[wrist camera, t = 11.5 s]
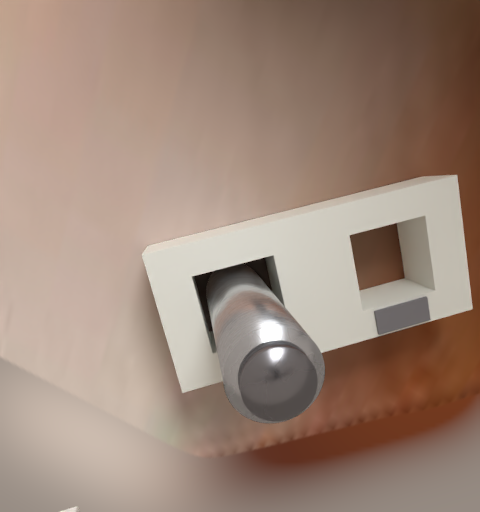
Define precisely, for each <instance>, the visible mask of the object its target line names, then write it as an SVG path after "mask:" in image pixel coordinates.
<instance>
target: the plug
mask: <svg viewBox="0 0 480 512" xmlns="http://www.w3.org/2000/svg"><path fill="white" fill-rule="evenodd" d="M206 297H207V302H208V307H209V313H210V318H211V323H212V328H213V333H214V338H215V343H216V348H217V353H218V358H219V364H220V369H221V374H222V379H223V384H224V389H225V393H226V395H227V398H228V400H229V402H230V403H231V404H232V406H233V407H234V408H235V409H236V410H237V411H238V412H239V413H240V414H242V415H243V416H245V417H246V418H248V419H251V420H253V421H257V422H261V423H279V422H283V421H287V420H289V419H292V418H294V417H296V416H298V415H299V414H301V413H302V412H304V411H305V410H306V409H307V408H309V406H310V405H311V404H312V403H313V402H314V401H315V399H316V398H317V396H318V394H319V393H320V391H321V388H322V385H323V382H324V376H325V365H324V360H323V356H322V354H321V351H320V349H319V348H318V346H317V345H316V343H315V342H314V341H313V340H312V339H311V338H310V336H309V335H308V334H307V333H306V332H305V330H304V329H303V328H302V327H301V326H300V324H299V323H298V322H297V321H296V320H295V318H294V317H293V316H292V315H291V314H290V312H289V311H288V310H287V309H286V308H285V307H284V305H283V304H282V303H281V302H280V301H279V299H278V298H277V297H276V296H275V295H274V293H273V292H272V291H271V290H270V289H269V287H268V286H267V285H266V284H265V283H264V282H263V280H262V279H261V278H260V277H259V276H258V274H257V273H256V272H255V271H254V270H253V269H252V268H250V267H249V266H247V265H245V264H238V265H234V266H230V267H227V268H223V269H219V270H215V271H214V272H213V273H212V274H211V276H210V277H209V279H208V282H207V285H206Z"/></svg>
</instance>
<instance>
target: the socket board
mask: <svg viewBox="0 0 480 512" xmlns="http://www.w3.org/2000/svg"><path fill="white" fill-rule="evenodd" d="M394 223H397V229H398V236H399V242H400V249H401V255H402V262H403V269H404V275H405V278H403V279H400V280H396V281H393V282H389V283H385V284H382V285H378V286H374V287H371V288H367V289H364V290H360V291H359V286H358V280H357V275H356V269H355V264H354V258H353V252H352V247H351V241H350V236H349V235H352V234H356V233H360V232H364V231H368V230H372V229H375V228H379V227H383V226H387V225H391V224H394ZM142 258H143V261H144V264H145V268H146V271H147V275H148V278H149V281H150V285H151V288H152V292H153V295H154V298H155V302H156V305H157V309H158V312H159V315H160V319H161V322H162V325H163V329H164V332H165V336H166V339H167V342H168V346H169V349H170V353H171V356H172V359H173V363H174V366H175V370H176V373H177V376H178V380H179V383H180V387H181V390H182V393H185V392H188V391H191V390H195V389H198V388H202V387H205V386H209V385H212V384H216V383H219V382H223V379H222V374H221V369H220V364H219V358H218V353H217V348H216V343H215V338H214V333H213V331H212V332H209V329H208V326H207V322H206V318H205V315H204V311H203V307H202V303H201V300H200V296H199V292H198V289H197V285H196V281H195V277H194V276H196V275H200V274H204V273H208V272H211V271H215V270H219V269H223V268H227V267H230V266H234V265H238V264H242V263H246V262H250V261H253V260H257V259H261V258H265V261H266V266H267V270H268V274H269V279H270V283H271V288H272V292H273V293H274V295H275V296H276V297H277V298H278V299H279V301H280V302H281V303H282V304H283V305H284V307H285V308H286V309H287V310H288V311H289V312H290V314H291V315H292V316H293V317H294V318H295V320H296V321H297V322H298V323H299V324H300V326H301V327H302V328H303V329H304V330H305V332H306V333H307V334H308V335H309V336H310V338H311V339H312V340H313V341H314V342H315V343H316V345H317V346H318V348H319V349H320V351H321V353H323V352H326V351H330V350H333V349H337V348H340V347H344V346H347V345H350V344H354V343H357V342H361V341H364V340H368V339H371V338H375V337H379V336H383V335H386V334H390V333H393V332H397V331H400V330H404V329H407V328H411V327H414V326H417V325H421V324H424V323H427V322H430V321H433V320H437V319H440V318H444V317H447V316H451V315H454V314H458V313H461V312H465V311H468V310H472V309H473V307H472V298H471V290H470V281H469V272H468V264H467V255H466V246H465V238H464V229H463V220H462V212H461V203H460V195H459V186H458V177H457V175H441V176H422V177H418V178H414V179H410V180H406V181H402V182H398V183H394V184H390V185H386V186H382V187H378V188H374V189H370V190H366V191H362V192H358V193H354V194H351V195H347V196H343V197H339V198H335V199H331V200H327V201H323V202H319V203H315V204H311V205H307V206H303V207H299V208H295V209H291V210H287V211H283V212H279V213H275V214H271V215H267V216H263V217H259V218H255V219H251V220H247V221H243V222H240V223H236V224H232V225H228V226H224V227H220V228H216V229H212V230H208V231H204V232H200V233H196V234H192V235H188V236H184V237H180V238H176V239H172V240H168V241H164V242H160V243H156V244H152V245H148V246H147V248H146V249H145V251H144V252H143V254H142Z"/></svg>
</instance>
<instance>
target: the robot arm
mask: <svg viewBox="0 0 480 512" xmlns="http://www.w3.org/2000/svg"><path fill="white" fill-rule="evenodd" d="M60 512H80V511H79V509H78V507H77V506H76V507H73V508H70V509H67V510H63V511H60Z"/></svg>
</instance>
